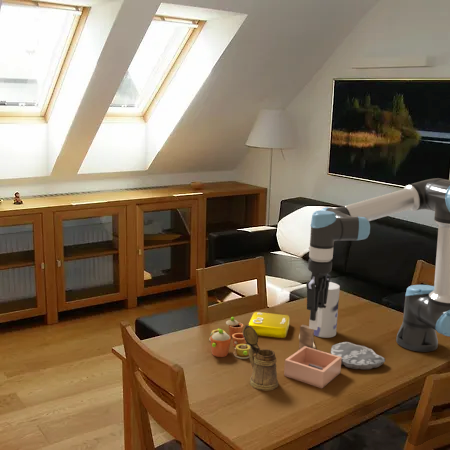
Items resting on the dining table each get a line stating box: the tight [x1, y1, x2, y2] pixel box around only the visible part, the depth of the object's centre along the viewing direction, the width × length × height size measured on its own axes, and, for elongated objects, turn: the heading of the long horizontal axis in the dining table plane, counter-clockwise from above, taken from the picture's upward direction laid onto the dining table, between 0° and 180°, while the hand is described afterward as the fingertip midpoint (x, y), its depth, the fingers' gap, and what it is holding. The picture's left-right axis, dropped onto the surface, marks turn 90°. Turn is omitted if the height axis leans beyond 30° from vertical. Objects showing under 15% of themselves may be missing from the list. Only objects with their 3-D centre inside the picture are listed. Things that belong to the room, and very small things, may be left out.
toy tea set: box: [208, 316, 251, 360], centre depth 215 cm, size 26×16×10 cm, turn 6°
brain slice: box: [330, 341, 386, 370], centre depth 206 cm, size 20×17×3 cm
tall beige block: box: [298, 324, 315, 350], centre depth 206 cm, size 4×2×12 cm, turn 55°
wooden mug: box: [242, 324, 279, 391], centre depth 187 cm, size 9×14×18 cm, turn 47°
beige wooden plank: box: [298, 333, 317, 350], centre depth 219 cm, size 12×4×2 cm, turn 1°
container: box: [314, 281, 341, 339], centre depth 228 cm, size 10×10×20 cm
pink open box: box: [283, 346, 342, 389], centre depth 194 cm, size 14×14×6 cm
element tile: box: [248, 311, 290, 339], centre depth 232 cm, size 15×15×5 cm
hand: (315, 327), depth 191 cm, fingers open, 2 cm apart
